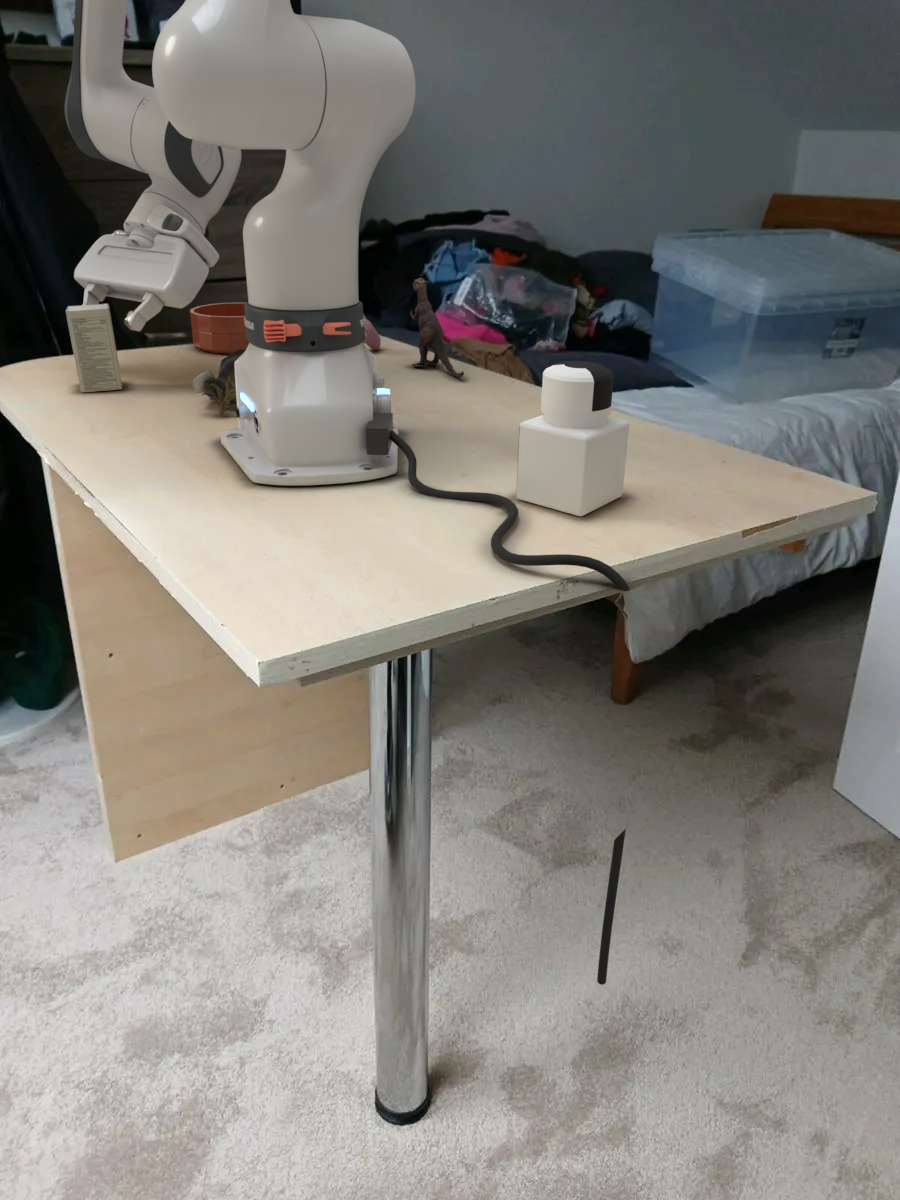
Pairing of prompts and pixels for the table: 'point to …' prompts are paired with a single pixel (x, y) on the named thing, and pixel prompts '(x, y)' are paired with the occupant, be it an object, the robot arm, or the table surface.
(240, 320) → the bowl
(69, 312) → the printed carton
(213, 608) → the table surface
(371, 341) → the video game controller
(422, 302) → the dinosaur model
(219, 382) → the eagle figurine
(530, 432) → the medicine bottle
